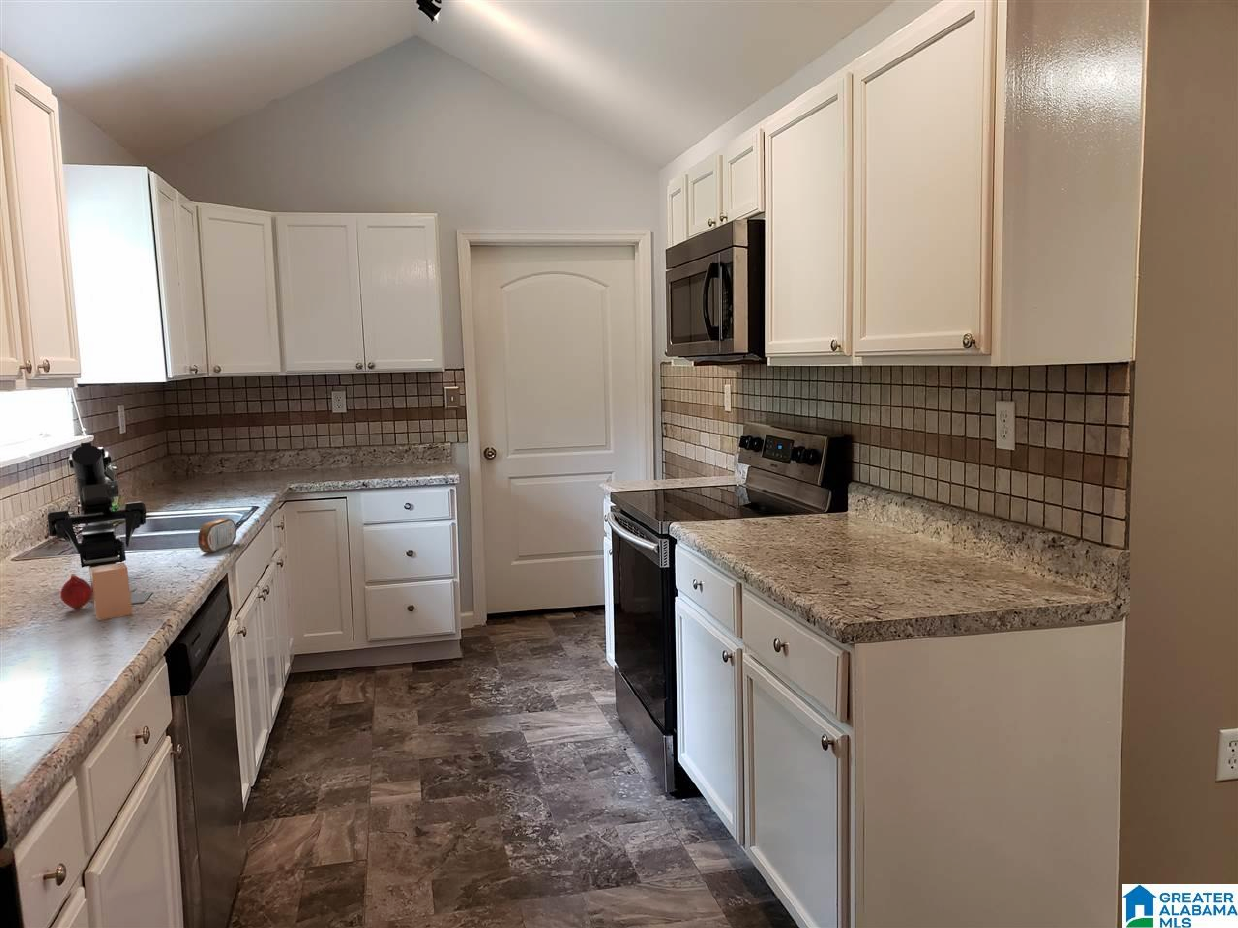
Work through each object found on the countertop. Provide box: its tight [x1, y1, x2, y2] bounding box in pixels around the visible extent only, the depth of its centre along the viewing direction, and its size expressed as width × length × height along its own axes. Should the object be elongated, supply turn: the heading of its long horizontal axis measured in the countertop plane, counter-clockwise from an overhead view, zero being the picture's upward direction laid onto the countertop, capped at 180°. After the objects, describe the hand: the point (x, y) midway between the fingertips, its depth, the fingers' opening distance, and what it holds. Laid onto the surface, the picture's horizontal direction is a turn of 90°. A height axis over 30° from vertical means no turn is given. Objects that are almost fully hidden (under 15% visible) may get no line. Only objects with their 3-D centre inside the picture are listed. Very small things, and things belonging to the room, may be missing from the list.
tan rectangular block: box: [89, 562, 133, 621], centre depth 190 cm, size 6×6×10 cm
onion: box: [59, 573, 93, 611], centre depth 195 cm, size 6×6×8 cm
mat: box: [130, 591, 154, 606], centre depth 202 cm, size 9×9×1 cm
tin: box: [197, 517, 237, 554], centre depth 252 cm, size 15×3×8 cm, turn 172°
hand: (103, 549), depth 195 cm, fingers open, 9 cm apart
